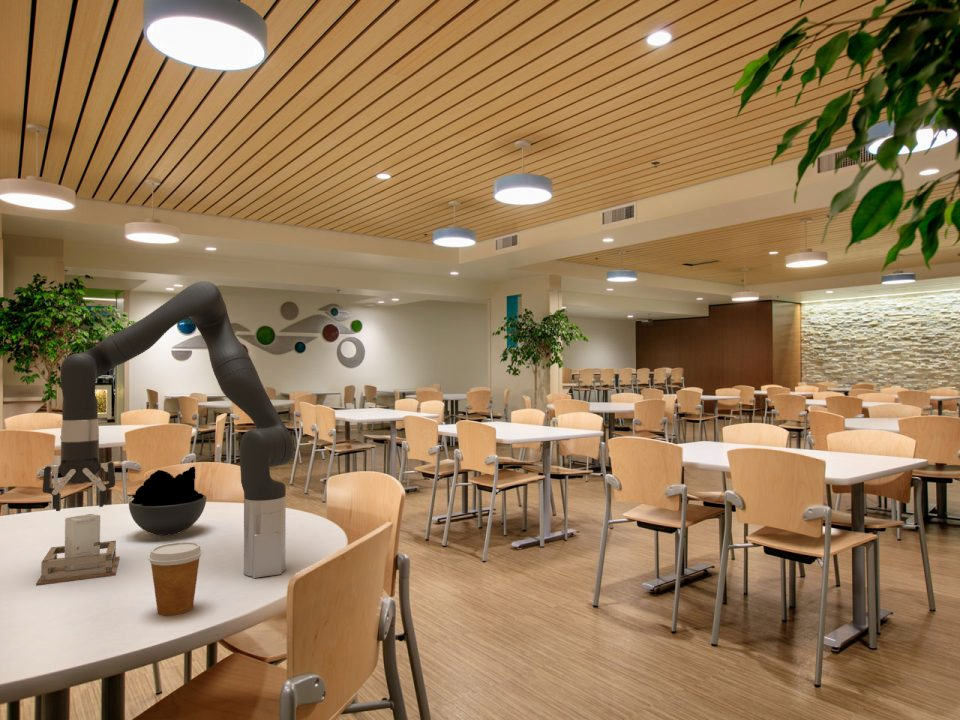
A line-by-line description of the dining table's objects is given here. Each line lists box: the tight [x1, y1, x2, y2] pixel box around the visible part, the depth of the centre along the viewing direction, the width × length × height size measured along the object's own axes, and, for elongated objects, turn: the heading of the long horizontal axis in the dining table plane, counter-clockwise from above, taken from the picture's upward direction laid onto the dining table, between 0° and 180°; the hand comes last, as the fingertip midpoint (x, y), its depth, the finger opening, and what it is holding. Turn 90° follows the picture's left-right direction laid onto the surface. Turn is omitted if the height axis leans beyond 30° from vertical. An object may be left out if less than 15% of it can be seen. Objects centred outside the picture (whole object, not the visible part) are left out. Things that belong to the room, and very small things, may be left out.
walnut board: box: [35, 555, 121, 586], centre depth 148 cm, size 15×15×1 cm
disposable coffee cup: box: [147, 541, 203, 616], centre depth 124 cm, size 10×10×12 cm
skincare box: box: [64, 513, 101, 571], centre depth 148 cm, size 6×4×12 cm
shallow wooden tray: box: [40, 540, 117, 581], centre depth 148 cm, size 13×13×4 cm
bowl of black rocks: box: [128, 466, 207, 536], centre depth 182 cm, size 20×20×19 cm
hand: (80, 508), depth 148 cm, fingers open, 8 cm apart
